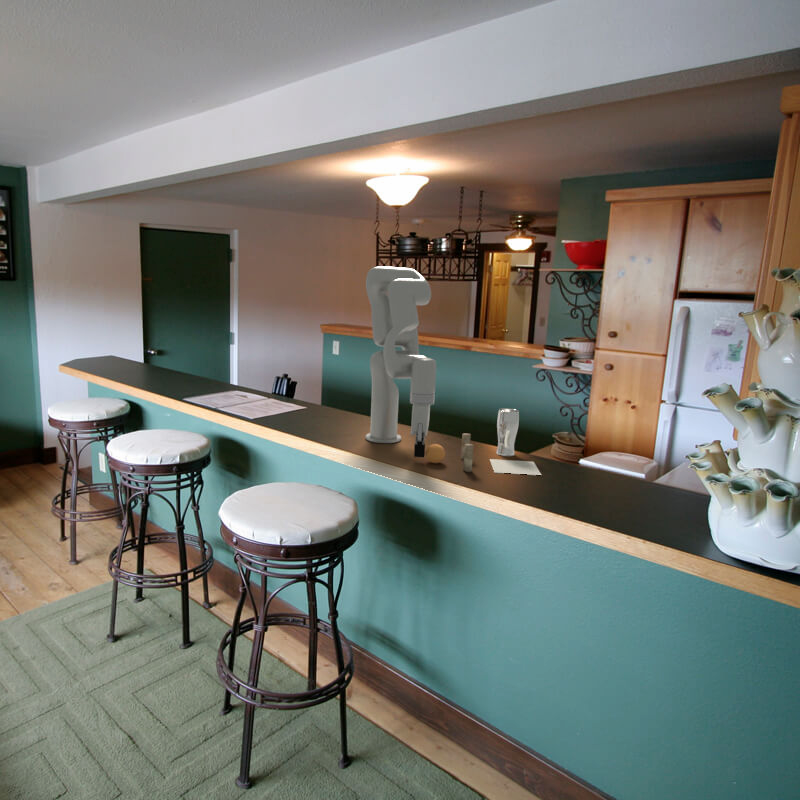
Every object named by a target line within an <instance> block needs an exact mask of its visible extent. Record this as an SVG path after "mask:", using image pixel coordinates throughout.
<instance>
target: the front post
mask: <svg viewBox="0 0 800 800" xmlns="http://www.w3.org/2000/svg"><path fill="white" fill-rule="evenodd" d="M473 454H474V444H473V443H470V444H465V448H464V459H463V464H462V465H463V466H462V471H463V472H464V471H465V473H471V472H472V470H473V469H472V468H473V457H474V455H473Z"/></svg>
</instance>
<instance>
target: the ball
mask: <svg viewBox="0 0 800 800" xmlns="http://www.w3.org/2000/svg"><path fill="white" fill-rule="evenodd" d="M425 450H426V451H425V458H426V459H427V461H428V462H430V463H432V464H439V463H441V462H442V461H443V460H444V458H445V456H446V452H445V448H444V447H443V446H442V445H440V444H438V443H433V444H430V445H428V447H427V448H425Z"/></svg>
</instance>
